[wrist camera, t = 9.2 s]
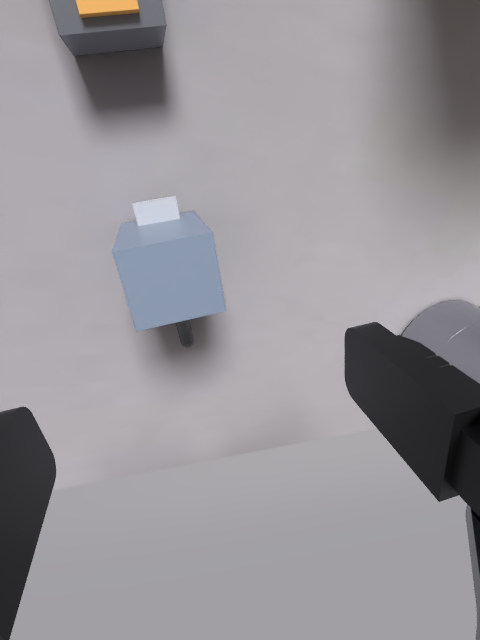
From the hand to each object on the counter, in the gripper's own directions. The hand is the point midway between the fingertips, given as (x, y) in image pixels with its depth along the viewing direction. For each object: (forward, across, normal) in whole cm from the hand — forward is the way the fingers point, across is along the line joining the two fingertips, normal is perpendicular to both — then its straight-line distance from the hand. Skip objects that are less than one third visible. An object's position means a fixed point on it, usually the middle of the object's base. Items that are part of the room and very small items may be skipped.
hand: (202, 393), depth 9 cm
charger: (+16, 0, +2) cm, 16 cm away
